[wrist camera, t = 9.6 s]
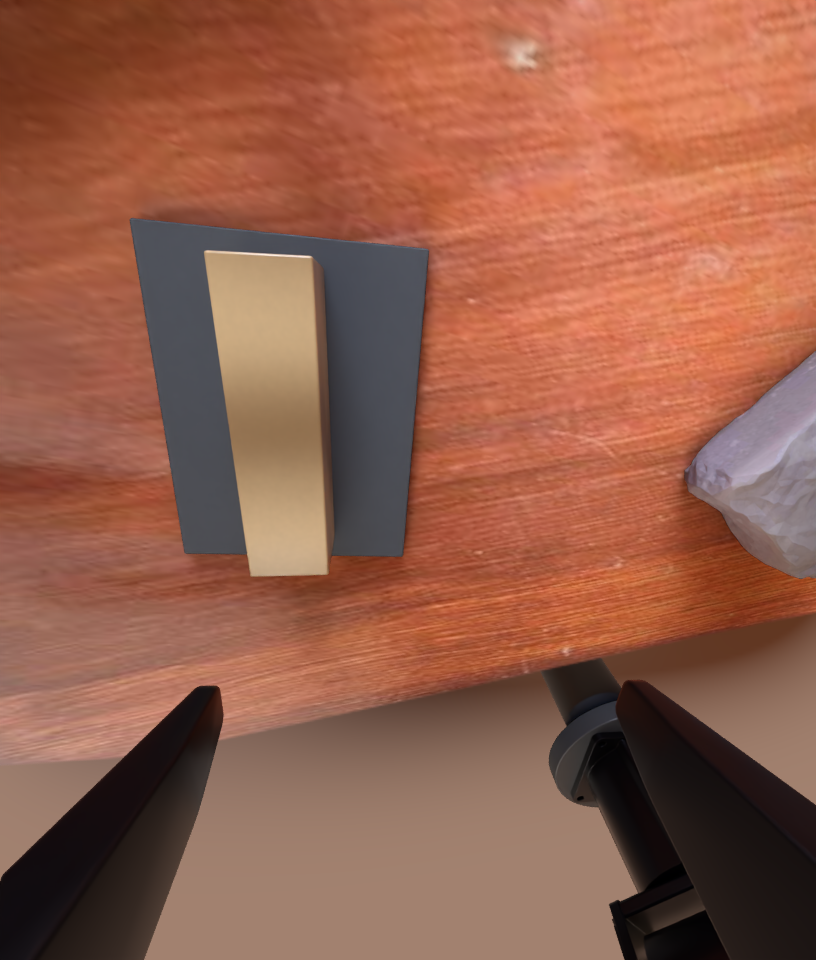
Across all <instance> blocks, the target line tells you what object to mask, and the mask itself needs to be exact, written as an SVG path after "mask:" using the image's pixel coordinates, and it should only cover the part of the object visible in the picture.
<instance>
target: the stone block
mask: <svg viewBox="0 0 816 960" xmlns="http://www.w3.org/2000/svg"><path fill="white" fill-rule="evenodd" d="M684 478H685V481H686V483H687V487H688V491H689V492H690V493H692V494H693V495H694V496H696V497H697V498H699V499H701V500H703V501H705V502H706V503H708V504H709V505H711V506H712V507H714V508H716V509H717V510H719V511H720V512H721V513H722V515H723V517H724V519H725V521H726V523H727V525H728V527H729V529H730V531H731V532H732V533H733V534H734V535H735V537H736V538H737V540H738V541H739V543H740V544H741V545H742V546H743V547H744V548H745V550H746V551H748V552H749V553H750V554H751V555H753V556H754V557H755V558H757V559H758V560H760V561H761V562H763V563H764V564H766V565H769V566H771V567H773V568H776V569H778V570H780V571H782V572H784V573H786V574H788V575H790V576H793V577H796V578H799V579H803V578H806V577H811V578H816V351H815V352H814V353H813V354H811V355H810V356H809V357H808V358H806V359H805V360H804V361H803V362H802V363H801V364H800V365H799V366H798V367H797V368H796V369H795V370H793V371H792V372H791V373H789V374H788V375H787V376H785V377H784V378H783V379H782V380H781V381H779V382H778V383H777V384H776V385H775V386H773V387H772V388H771V389H770V390H769V391H767V392H766V393H765V394H764V395H763V396H762V397H761V398H760V399H759V400H758V401H757V402H756V403H755V404H754V405H753V406H752V407H751V408H750V409H748V410H747V411H746V412H745V413H744V414H742V415H741V416H739V417H737V418H735V419H734V420H733V421H732V422H731V423H730V424H728V425H727V426H726V427H724V428H723V429H722V430H720V431H719V432H718V433H717V434H716V435H715V436H714V437H713V438H712V439H711V440H710V441H709V442H708V443H707V444H706V445H705V446H704V447H703V448H702V449H701V450H700V451H699V453H698V454H697V455H696V457H695V458H694V460H693V461H692V463H691V465H690V466H689V467H688V468H687V469H686V470H685V471H684Z"/></svg>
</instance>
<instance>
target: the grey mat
mask: <svg viewBox="0 0 816 960" xmlns="http://www.w3.org/2000/svg"><path fill="white" fill-rule="evenodd" d="M130 225H131V231H132V237H133V243H134V249H135V255H136V261H137V267H138V274H139V280H140V286H141V292H142V298H143V304H144V310H145V316H146V322H147V328H148V334H149V340H150V346H151V352H152V358H153V364H154V370H155V376H156V383H157V389H158V395H159V401H160V407H161V413H162V419H163V425H164V431H165V437H166V443H167V449H168V455H169V461H170V467H171V473H172V479H173V485H174V492H175V498H176V504H177V510H178V516H179V522H180V528H181V534H182V540H183V546H184V552H185V553H186V554H247V550H246V543H245V536H244V529H243V522H242V515H241V508H240V501H239V494H238V487H237V480H236V473H235V466H234V459H233V452H232V445H231V438H230V431H229V424H228V417H227V410H226V403H225V396H224V390H223V383H222V376H221V369H220V362H219V355H218V348H217V341H216V334H215V327H214V320H213V313H212V306H211V299H210V292H209V285H208V278H207V271H206V264H205V257H204V251H206V250H211V251H229V252H248V253H267V254H286V255H305V256H311V257H313V258H314V259H315V260H316V261H317V262H318V263H319V264H320V265H321V266H322V267H323V269H324V288H325V312H326V336H327V361H328V385H329V409H330V433H331V458H332V482H333V506H334V531H335V537H334V543H333V549H332V556H392V557H402V556H403V550H404V538H405V527H406V515H407V503H408V491H409V480H410V468H411V456H412V444H413V433H414V421H415V409H416V397H417V386H418V374H419V362H420V351H421V339H422V327H423V315H424V304H425V292H426V280H427V268H428V257H429V250H428V249H423V248H414V247H404V246H395V245H385V244H375V243H366V242H356V241H347V240H337V239H327V238H318V237H308V236H299V235H289V234H279V233H270V232H260V231H250V230H241V229H231V228H222V227H212V226H202V225H193V224H183V223H174V222H164V221H154V220H145V219H135V218H131V219H130Z"/></svg>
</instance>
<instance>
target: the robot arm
mask: <svg viewBox="0 0 816 960" xmlns="http://www.w3.org/2000/svg"><path fill="white" fill-rule="evenodd" d="M615 709H616V715H617V718H618V721H619V723H620V726H621V728H622V732H600V733H596V734H594V735H593V736H592V738H591V740H590V742H589V745H588V748H587V750H586V753H585V756H584V758H583V761H582V763H581V766H580V769H579V771H578V774H577V777H576V779H575V782H574V784H573V787H572V790H571V793H570V794H571V796H572V799H573V801H574V802H576V803H584V802H596V803H597V805H598V807H599V810H600V812H601V814H602V816H603V818H604V820H605V823H606V825H607V827H608V829H609V831H610V833H611V835H612V838H613V840H614V842H615V844H616V846H617V848H618V851H619V852H620V855H621V857H622V859H623V861H624V863H625V865H626V868H627V870H628V872H629V874H630V876H631V879H632V881H633V883H634V885H635V887H636V889H637V891H638V894H636V895H634V896H631V897H629V898H627V899H625V900H623V901H619V900H616V901H615V902H612V903H610V904H609V906H610V909H611V912H612V916H613V919H612V921H613V923H614V928H615V931H616V934H617V938H618V941H619V944H620V947H621V950H622V953H623V956H624V959H625V960H816V805H815V804H814V803H812V802H811V801H810V800H808V799H807V798H805V797H804V796H803V795H801V794H800V793H798V792H797V791H796V790H794V789H793V788H792V787H790V786H789V785H788V784H786V783H785V782H783V781H782V780H781V779H779V778H778V777H777V776H775V775H774V774H773V773H771V772H770V771H768V770H767V769H766V768H764V767H763V766H761V765H760V764H759V763H757V762H756V761H755V760H753V759H752V758H751V757H749V756H748V755H746V754H745V753H744V752H742V751H741V750H740V749H738V748H737V747H735V746H734V745H733V744H731V743H730V742H729V741H727V740H726V739H725V738H723V737H721V736H720V735H719V734H718V733H716V732H715V731H713V730H712V729H711V728H709V727H708V726H707V725H705V724H704V723H703V722H701V721H699V720H698V719H697V718H696V717H694V716H693V715H691V714H690V713H689V712H687V711H686V710H685V709H683V708H682V707H681V706H679V705H678V704H676V703H675V702H674V701H672V700H671V699H670V698H668V697H667V696H666V695H664V694H663V693H661V692H660V691H658V690H657V689H656V688H655V687H653V686H652V685H650V684H649V683H648V682H646V681H643V680H627V681H625V682H624V684H623V686H622V689H621V691H620V694H619V697H618V699H617V702H616V707H615ZM222 723H223V706H222V699H221V692H220V688H219V687H218V686H199V687H197V688H195V689H194V690H193V691H192V692H191V693H190V694H189V695H188V696H187V697H186V698H185V699H184V700H183V701H182V702H181V703H180V704H179V705H178V706H176V707H175V708H174V709H173V710H172V711H171V712H170V713H169V714H168V715H167V716H166V717H165V718H164V719H163V720H162V721H161V722H160V723H159V724H158V725H157V726H156V727H155V728H154V729H153V730H152V731H151V732H150V733H149V734H148V735H147V736H146V737H144V738H143V739H142V740H141V741H140V742H139V743H138V744H137V745H136V746H135V747H134V748H133V749H132V750H131V751H130V752H129V753H128V754H127V755H126V756H125V757H124V758H123V759H122V760H121V761H120V762H119V763H118V764H117V765H116V766H115V767H114V768H112V770H110V771H109V772H108V773H107V774H106V775H105V776H104V777H103V778H102V779H101V780H100V781H99V782H98V783H97V784H96V785H95V786H94V787H93V788H92V789H91V790H90V791H89V792H88V793H87V794H86V795H85V796H84V797H83V798H82V799H80V800H79V801H78V802H77V803H76V804H75V805H74V806H73V807H72V808H71V809H70V810H69V811H68V812H67V813H66V814H65V815H64V816H63V817H62V818H61V819H60V820H59V821H58V822H57V823H56V824H55V825H54V826H53V827H52V828H51V829H49V831H47V832H46V833H45V834H44V835H43V836H42V837H41V838H40V839H39V840H38V841H37V842H36V843H35V844H34V845H33V846H32V847H31V848H30V849H29V850H28V851H27V852H26V853H25V854H24V855H23V856H22V857H21V858H20V859H19V860H18V861H17V862H15V863H14V864H13V865H12V866H11V867H10V868H9V869H8V870H7V871H6V872H5V873H4V874H3V876H2V877H1V881H0V960H144V958H145V956H146V953H147V950H148V947H149V945H150V942H151V939H152V937H153V934H154V931H155V929H156V926H157V923H158V921H159V918H160V915H161V912H162V910H163V907H164V904H165V902H166V899H167V896H168V894H169V891H170V888H171V885H172V883H173V880H174V877H175V875H176V872H177V869H178V867H179V864H180V861H181V859H182V855H183V853H184V850H185V847H186V845H187V842H188V840H189V837H190V834H191V832H192V829H193V826H194V823H195V820H196V817H197V815H198V811H199V808H200V805H201V801H202V798H203V794H204V791H205V787H206V783H207V779H208V776H209V772H210V768H211V765H212V761H213V757H214V753H215V750H216V746H217V742H218V739H219V735H220V731H221V728H222Z"/></svg>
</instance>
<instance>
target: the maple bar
mask: <svg viewBox="0 0 816 960" xmlns="http://www.w3.org/2000/svg"><path fill="white" fill-rule="evenodd" d="M204 257H205V264H206V271H207V278H208V285H209V292H210V299H211V306H212V313H213V320H214V327H215V334H216V341H217V348H218V355H219V362H220V369H221V376H222V383H223V390H224V396H225V403H226V410H227V417H228V424H229V431H230V438H231V445H232V452H233V459H234V466H235V473H236V480H237V487H238V494H239V501H240V508H241V515H242V522H243V529H244V536H245V543H246V550H247V557H248V564H249V571H250V576H252V577H259V576H299V575H328V573H329V569H330V562H331V556H332V549H333V543H334V537H335V531H334V506H333V482H332V458H331V433H330V409H329V385H328V361H327V336H326V312H325V288H324V269H323V267H322V266H321V265H320V264H319V263H318V262H317V261H316V260H315V259H314V258H313V257H311V256H305V255H286V254H267V253H248V252H229V251H211V250H206V251H204Z"/></svg>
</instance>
